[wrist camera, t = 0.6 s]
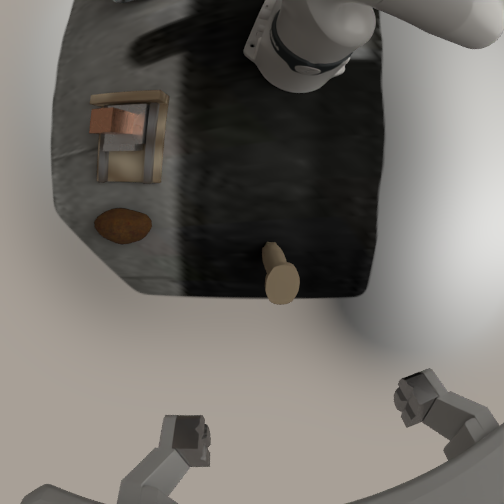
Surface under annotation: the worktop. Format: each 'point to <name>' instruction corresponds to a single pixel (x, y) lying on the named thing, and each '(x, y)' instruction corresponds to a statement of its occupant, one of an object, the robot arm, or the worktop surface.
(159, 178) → the frame
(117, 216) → the potato
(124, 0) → the lucky cat figurine
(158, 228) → the worktop surface
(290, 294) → the handle
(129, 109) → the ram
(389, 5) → the robot arm
